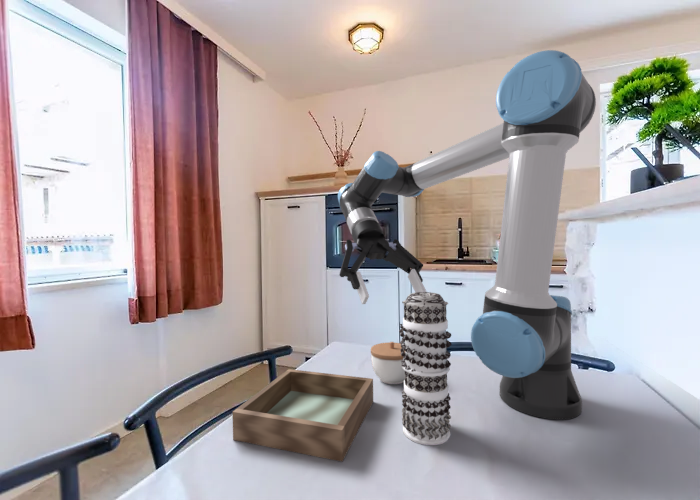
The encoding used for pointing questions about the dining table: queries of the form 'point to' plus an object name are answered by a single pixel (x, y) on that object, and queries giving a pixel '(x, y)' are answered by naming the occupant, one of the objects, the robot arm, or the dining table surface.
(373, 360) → the lidded jar
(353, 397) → the wooden drawer box
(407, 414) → the decorative candle
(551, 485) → the dining table surface
